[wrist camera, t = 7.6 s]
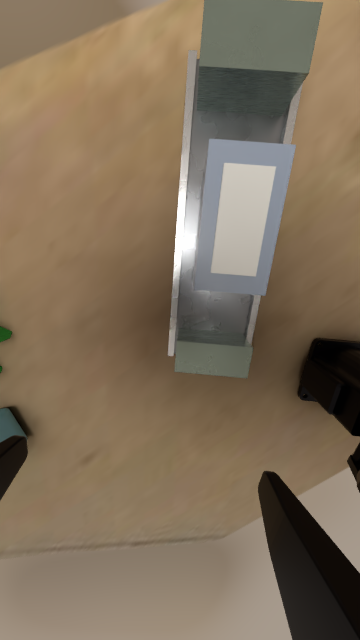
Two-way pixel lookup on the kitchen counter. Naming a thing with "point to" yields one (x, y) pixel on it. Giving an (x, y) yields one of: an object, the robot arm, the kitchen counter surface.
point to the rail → (241, 125)
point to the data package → (9, 425)
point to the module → (240, 214)
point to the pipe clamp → (4, 337)
